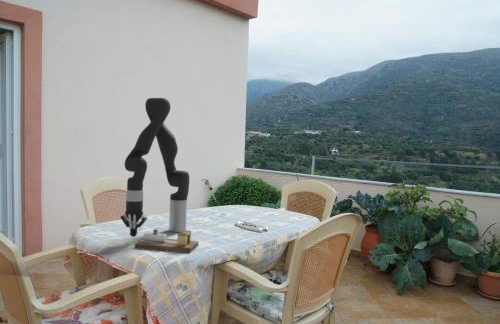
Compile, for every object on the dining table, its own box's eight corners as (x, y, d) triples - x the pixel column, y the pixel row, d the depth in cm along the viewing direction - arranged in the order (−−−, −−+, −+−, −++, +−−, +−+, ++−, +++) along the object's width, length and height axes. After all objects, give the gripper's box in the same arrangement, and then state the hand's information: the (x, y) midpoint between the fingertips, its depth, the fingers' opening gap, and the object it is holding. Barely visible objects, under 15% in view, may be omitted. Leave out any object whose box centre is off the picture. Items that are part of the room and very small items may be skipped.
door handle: (243, 223, 221) (271, 231, 203) (230, 225, 215) (258, 233, 196) (243, 219, 221) (271, 227, 203) (231, 221, 215) (259, 229, 196)
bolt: (146, 238, 165) (147, 228, 165) (166, 240, 163) (167, 229, 163) (143, 240, 162) (144, 229, 162) (164, 242, 160) (164, 231, 160)
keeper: (182, 241, 164) (182, 230, 164) (190, 242, 164) (191, 231, 164) (177, 245, 157) (177, 233, 157) (185, 246, 157) (186, 234, 157)
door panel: (146, 241, 170) (146, 236, 170) (198, 245, 166) (198, 241, 166) (134, 247, 158) (135, 243, 158) (190, 252, 154) (190, 247, 154)
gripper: (151, 199, 166) (150, 235, 167) (125, 197, 168) (124, 233, 169) (144, 201, 159) (143, 239, 160) (117, 199, 161) (116, 237, 161)
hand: (133, 236), depth 164 cm, fingers closed
